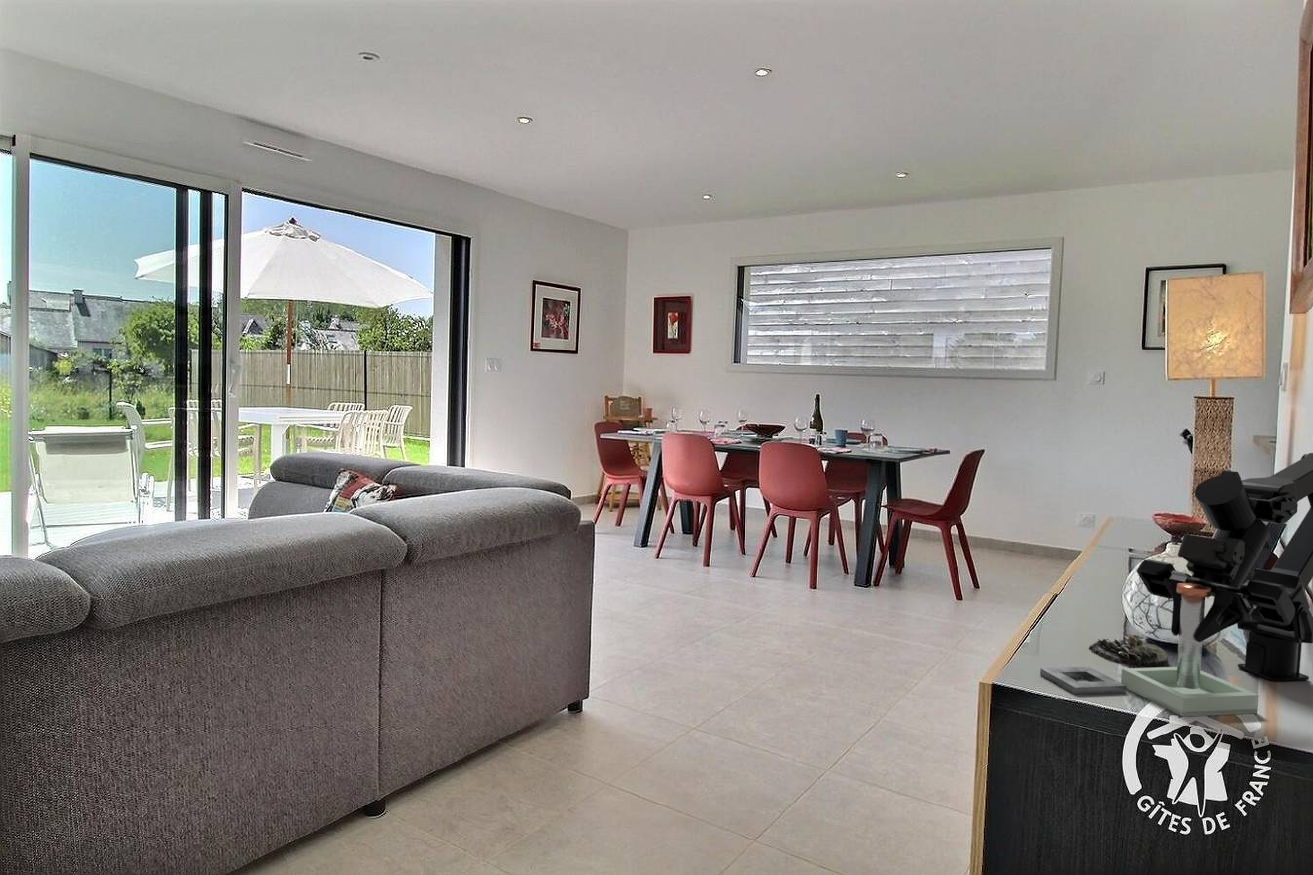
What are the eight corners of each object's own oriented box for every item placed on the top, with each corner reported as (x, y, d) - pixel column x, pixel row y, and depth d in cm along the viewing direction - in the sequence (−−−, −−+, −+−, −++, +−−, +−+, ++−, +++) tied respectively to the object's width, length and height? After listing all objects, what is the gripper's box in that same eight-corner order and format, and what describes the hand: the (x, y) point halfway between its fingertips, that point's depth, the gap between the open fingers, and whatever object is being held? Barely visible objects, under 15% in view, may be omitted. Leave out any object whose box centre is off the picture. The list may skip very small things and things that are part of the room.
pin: (1181, 678, 119) (1187, 581, 118) (1210, 687, 116) (1217, 588, 115) (1164, 682, 117) (1170, 584, 116) (1193, 692, 114) (1200, 591, 113)
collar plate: (1088, 673, 126) (1088, 666, 126) (1126, 692, 118) (1126, 685, 118) (1040, 674, 125) (1040, 668, 125) (1074, 694, 117) (1075, 687, 117)
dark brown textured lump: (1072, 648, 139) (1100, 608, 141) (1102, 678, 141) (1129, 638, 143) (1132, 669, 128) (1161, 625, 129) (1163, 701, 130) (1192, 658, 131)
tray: (1190, 682, 123) (1191, 666, 123) (1257, 713, 112) (1258, 694, 112) (1120, 685, 121) (1121, 668, 121) (1181, 716, 110) (1183, 697, 110)
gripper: (1147, 505, 125) (1098, 585, 120) (1290, 525, 109) (1240, 618, 104) (1174, 553, 129) (1127, 632, 125) (1315, 579, 113) (1268, 671, 108)
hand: (1185, 636), depth 115 cm, fingers closed on pin, 3 cm apart
